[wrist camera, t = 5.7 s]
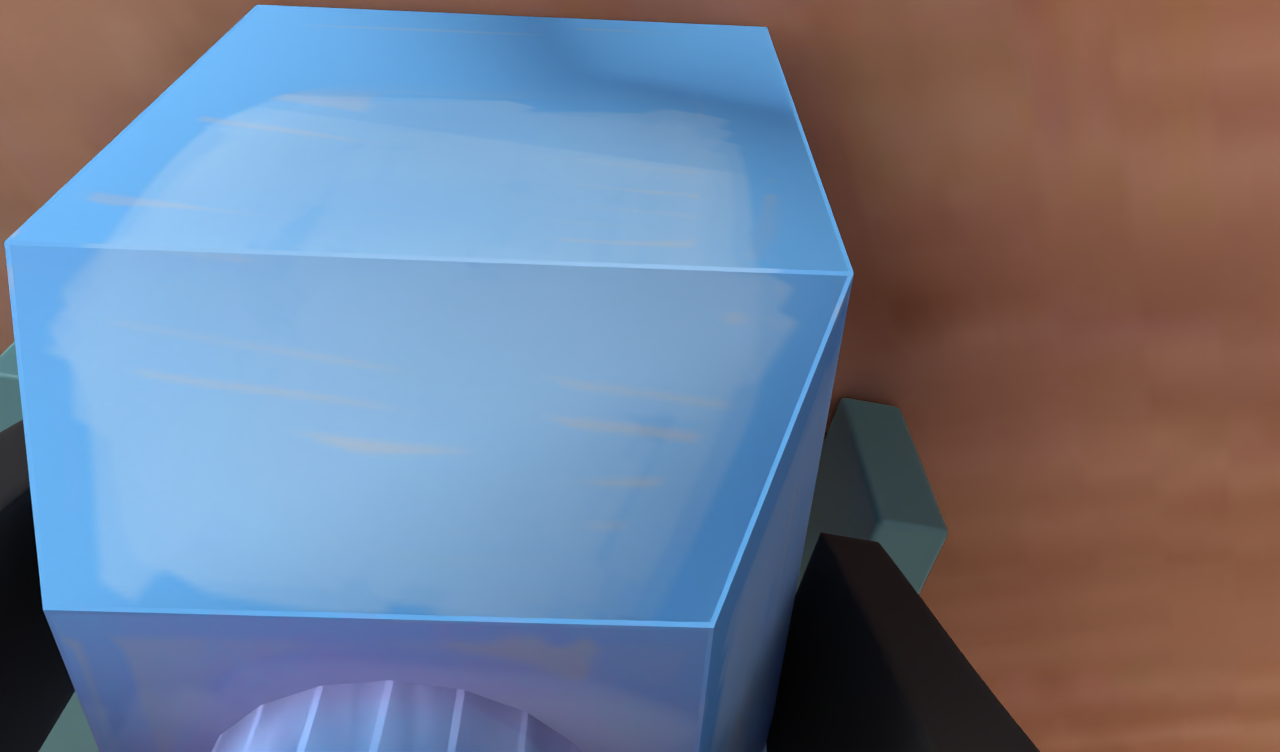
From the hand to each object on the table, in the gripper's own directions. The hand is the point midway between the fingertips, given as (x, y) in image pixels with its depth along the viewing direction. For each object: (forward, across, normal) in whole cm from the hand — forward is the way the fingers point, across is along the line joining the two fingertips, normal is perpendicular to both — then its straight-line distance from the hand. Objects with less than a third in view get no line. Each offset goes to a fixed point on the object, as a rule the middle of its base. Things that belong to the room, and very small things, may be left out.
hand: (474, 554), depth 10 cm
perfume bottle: (+6, 0, -1) cm, 6 cm away
